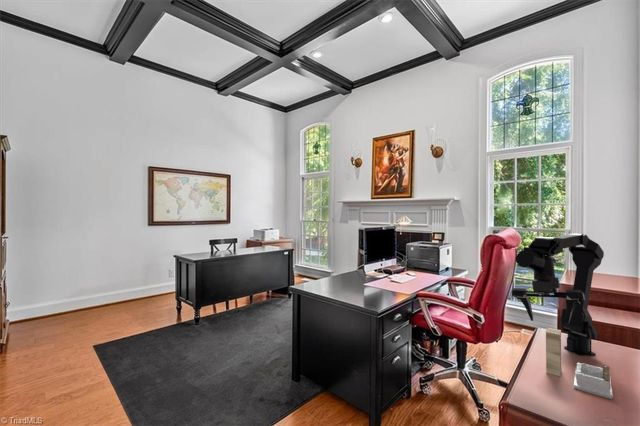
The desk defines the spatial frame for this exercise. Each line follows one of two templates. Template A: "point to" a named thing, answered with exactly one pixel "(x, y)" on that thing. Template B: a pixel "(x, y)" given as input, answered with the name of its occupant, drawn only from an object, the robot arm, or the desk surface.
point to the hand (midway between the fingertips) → (549, 322)
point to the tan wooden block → (553, 351)
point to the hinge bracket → (593, 379)
